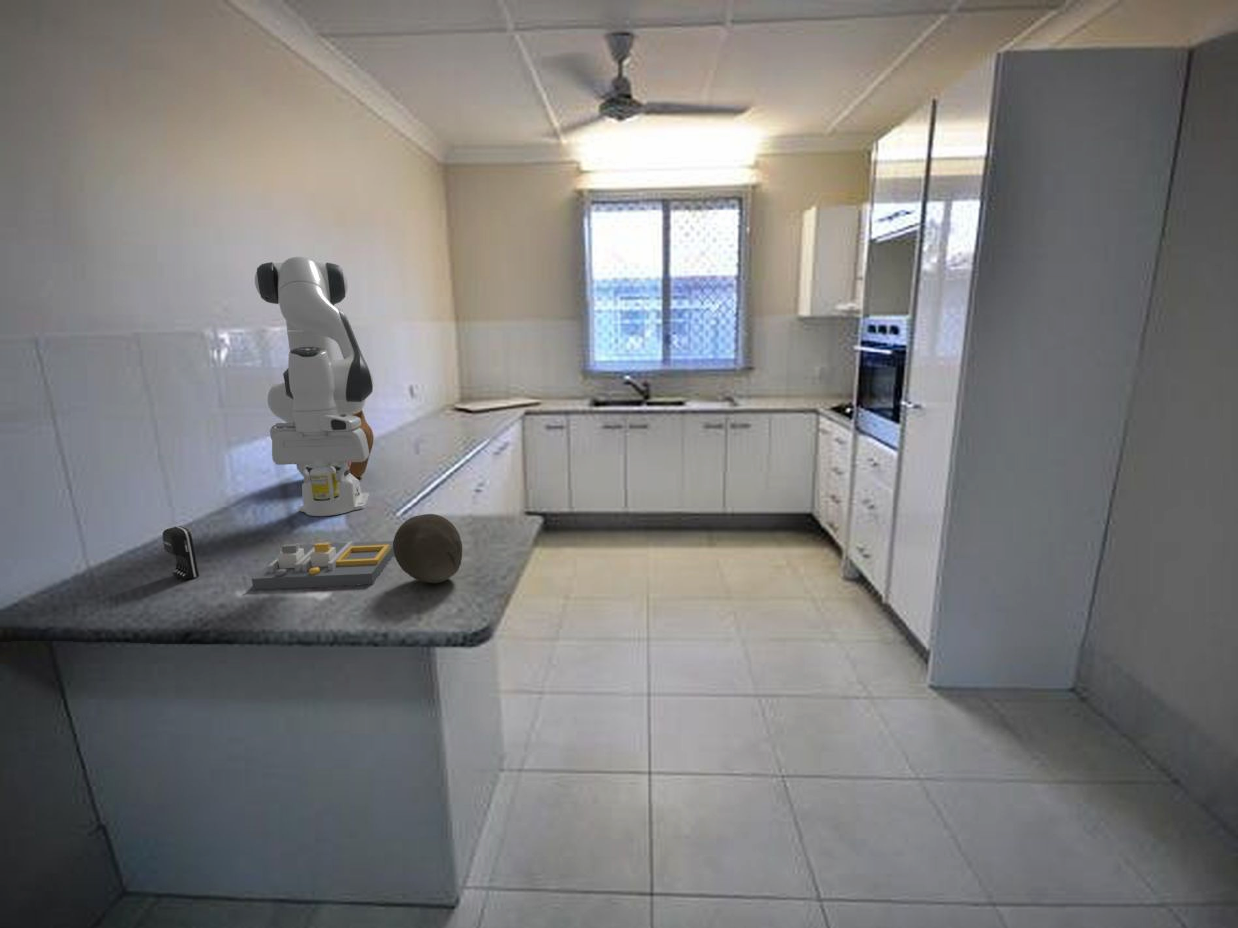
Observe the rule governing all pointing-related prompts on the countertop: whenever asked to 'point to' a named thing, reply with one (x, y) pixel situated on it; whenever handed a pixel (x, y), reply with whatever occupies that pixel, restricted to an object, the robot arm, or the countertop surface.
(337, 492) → the supplement bottle
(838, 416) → the countertop surface
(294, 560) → the breaker
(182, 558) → the black electronic device
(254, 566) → the countertop surface
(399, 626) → the countertop surface
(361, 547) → the breaker panel
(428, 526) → the dark brown ball
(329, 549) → the breaker
